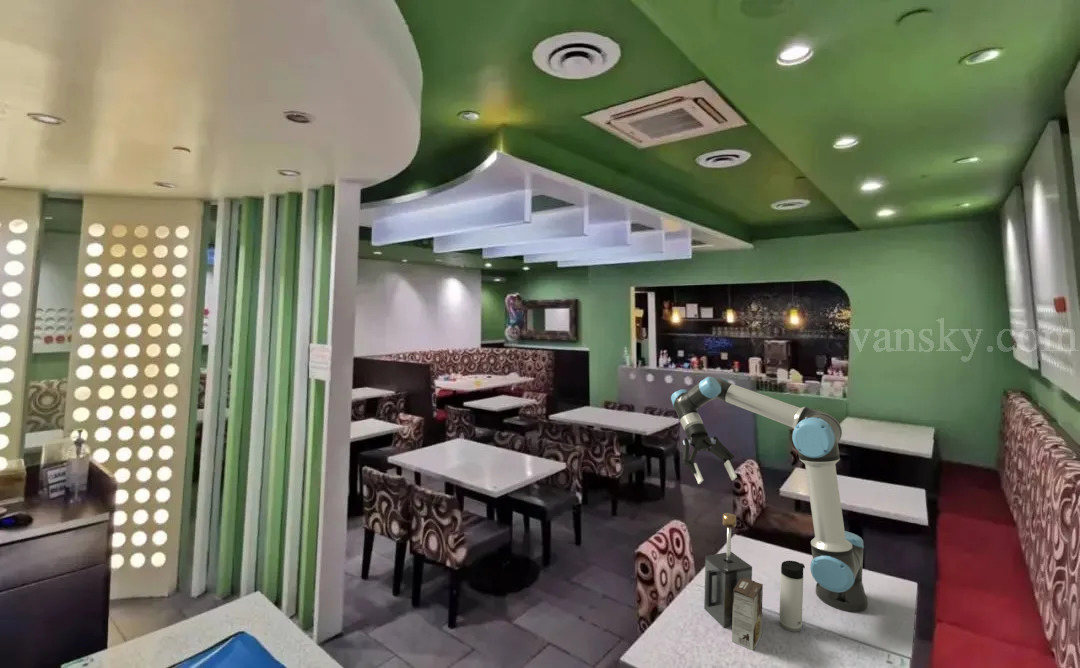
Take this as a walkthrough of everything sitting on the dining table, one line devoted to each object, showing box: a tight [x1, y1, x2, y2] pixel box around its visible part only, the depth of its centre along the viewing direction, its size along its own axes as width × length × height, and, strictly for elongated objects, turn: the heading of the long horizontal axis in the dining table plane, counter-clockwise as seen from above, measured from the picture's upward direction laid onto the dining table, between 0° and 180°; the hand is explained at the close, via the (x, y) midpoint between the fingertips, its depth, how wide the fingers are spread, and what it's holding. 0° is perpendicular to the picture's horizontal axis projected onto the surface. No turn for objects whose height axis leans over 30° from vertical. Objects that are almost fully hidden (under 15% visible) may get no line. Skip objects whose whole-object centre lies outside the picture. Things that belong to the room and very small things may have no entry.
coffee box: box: [731, 577, 764, 651], centre depth 145 cm, size 9×6×16 cm
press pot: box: [703, 551, 753, 629], centre depth 156 cm, size 13×10×18 cm
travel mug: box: [778, 560, 806, 633], centre depth 151 cm, size 6×7×20 cm
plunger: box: [722, 512, 737, 563], centre depth 156 cm, size 8×8×24 cm
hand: (717, 480), depth 168 cm, fingers open, 13 cm apart
